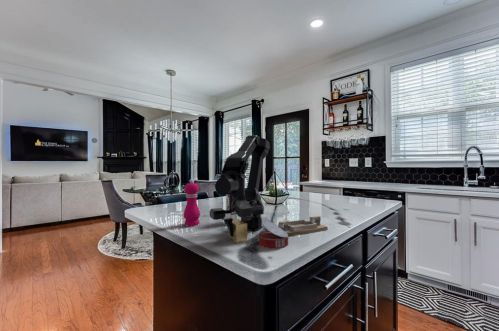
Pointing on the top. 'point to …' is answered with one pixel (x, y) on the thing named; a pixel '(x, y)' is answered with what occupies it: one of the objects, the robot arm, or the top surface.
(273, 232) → the canned food
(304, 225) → the shaft board
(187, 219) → the pepper mill
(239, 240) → the block
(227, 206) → the syrup box
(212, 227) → the top surface
